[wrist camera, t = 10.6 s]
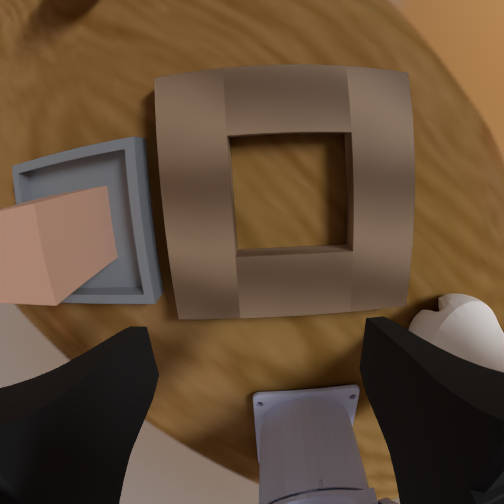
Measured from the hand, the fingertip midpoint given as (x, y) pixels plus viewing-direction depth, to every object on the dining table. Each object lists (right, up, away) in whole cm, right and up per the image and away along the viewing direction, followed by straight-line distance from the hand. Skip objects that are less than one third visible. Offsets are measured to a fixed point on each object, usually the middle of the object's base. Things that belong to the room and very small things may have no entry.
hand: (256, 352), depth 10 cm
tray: (-11, +5, +9) cm, 15 cm away
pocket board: (+2, +7, +8) cm, 10 cm away
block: (-11, +5, +8) cm, 14 cm away
